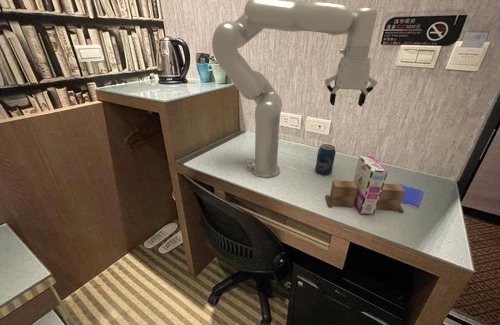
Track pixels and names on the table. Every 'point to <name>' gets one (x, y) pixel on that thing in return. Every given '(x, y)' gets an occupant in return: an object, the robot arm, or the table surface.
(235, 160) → the table surface
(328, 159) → the soda can
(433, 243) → the table surface
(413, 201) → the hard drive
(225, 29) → the robot arm
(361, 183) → the candy bar box
